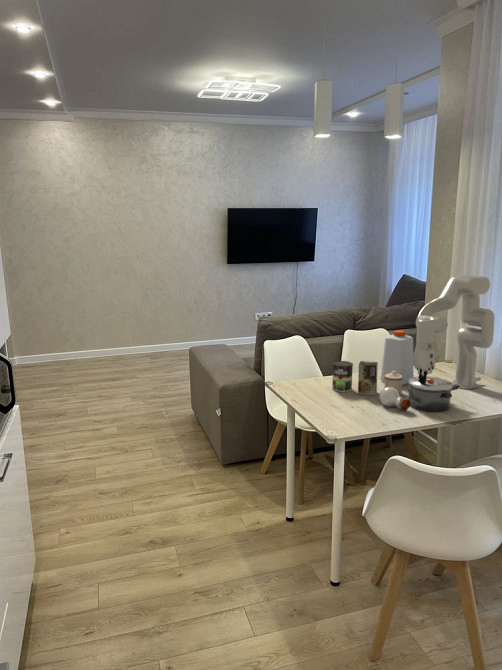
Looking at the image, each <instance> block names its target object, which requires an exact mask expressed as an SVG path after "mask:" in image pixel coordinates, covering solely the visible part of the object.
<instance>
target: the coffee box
mask: <svg viewBox="0 0 502 670" xmlns="http://www.w3.org/2000/svg"><path fill="white" fill-rule="evenodd" d="M378 364H379V363H378V362H377V361H365V360H360V361H359V363H358V376H357V377H358V379H357V380H358V381H357V395H366V396H374V397H375V396H377V393H378V391H377V390H378V369H379V368H378V366H379V365H378Z"/></svg>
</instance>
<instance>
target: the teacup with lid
mask: <svg viewBox="0 0 502 670" xmlns="http://www.w3.org/2000/svg"><path fill="white" fill-rule="evenodd" d="M402 379H403V376H402V375H400V374H398V373H396V371H392V373H389V374H386V375H385V377H384V382H383V383H384V388H386V387H393V388H395V389H396V390H397V391H398V392H399V394H400V396H401V395H402V393H403V392H402V390H403V385H402Z"/></svg>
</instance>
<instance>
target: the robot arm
mask: <svg viewBox="0 0 502 670" xmlns="http://www.w3.org/2000/svg"><path fill="white" fill-rule="evenodd" d="M490 288H491V281H490V279H489V278H488V277H486V276H480V275H478V276H477V275H469V274H460V275H457V276H452V277H451V278H449V280H448V281H447V283H446V285H445V286H444V288H443V290H442V292H441V293H440V295H439V297H437V298H435V299H433V300H431V301H429V302H428V303H427V304H426V305H424V306H423V307H422V308H421V310H420V311H419V313H418V314H417V317H416V319H415V326H416V338H415V339H416V342H415V349H414V351H413V369H414V370H417V375H418V376H419V382H418V383H420V384H423V383H426V376H428V375H430V374H433V370H435V369H436V355H435V353H436V352H435V349H434V348H435V345H434V340H435V339H434V338H435V334H442V333H445V331H446V330H447V329H448V324H449V323H448V321H447V319H445V318H444V317H441V316H436V315H434V314H437V313H439V312H443V311H447V310H448V311H449V310H451V309H453V308H455V307H456V306H457V303H458V301H459V300H460V299H461V311H460V313H461V314H460V315H461V316H460V322H462V324H464V325H467V326H463V327H460V328H459V329H458V330H457V333H456V341H457V356H456V367H455V380H453V381H452V382H451V383H452V384H453V386H454V384H456V385H459V386H460V388H459V389H464V390H473V389H477V388H478V383H477V382H478V381H481V380H482V378H481V376H479V377H478V376H477V377H476V371H477V370H476V369H477V357H478V354H477V350H476V348H479V349H488V348H489V349H490V348H491V347H492V345H493V342H494V334H495V333H494V332H495V318H496V317H495V313H494V312H493V310H491V309H489V308H482V307H481V305H480V304H481V302H480V301H481V298H480V295H485V294H487V293H488V291H490ZM470 326H473V327H470ZM477 327H479V328H477Z"/></svg>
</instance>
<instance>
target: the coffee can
mask: <svg viewBox="0 0 502 670" xmlns="http://www.w3.org/2000/svg"><path fill="white" fill-rule="evenodd" d="M353 365H354V363H353V362H351V361H347V360H337V361H333V363H332V382H331V383H332V385H331V386H332V388H331V389H332V390H333V391H334V390H335V391H334V392H337V391H338V393H348V392H351V391H352V390H353V389H352V388H353V386H352V385H353V369H354V368H353Z"/></svg>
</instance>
